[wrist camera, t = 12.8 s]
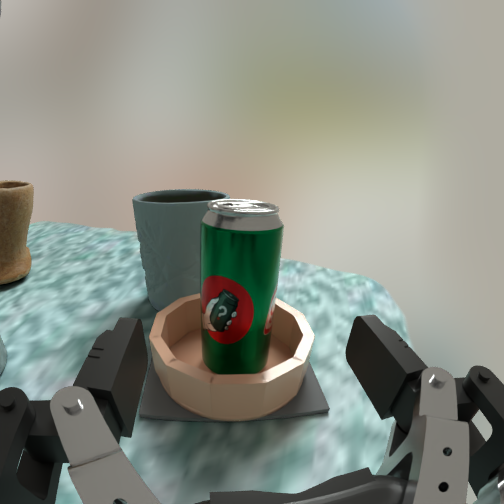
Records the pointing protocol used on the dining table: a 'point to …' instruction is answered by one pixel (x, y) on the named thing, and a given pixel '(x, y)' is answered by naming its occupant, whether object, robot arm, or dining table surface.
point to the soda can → (238, 283)
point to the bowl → (228, 386)
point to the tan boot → (14, 229)
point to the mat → (166, 408)
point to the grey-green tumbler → (171, 241)
